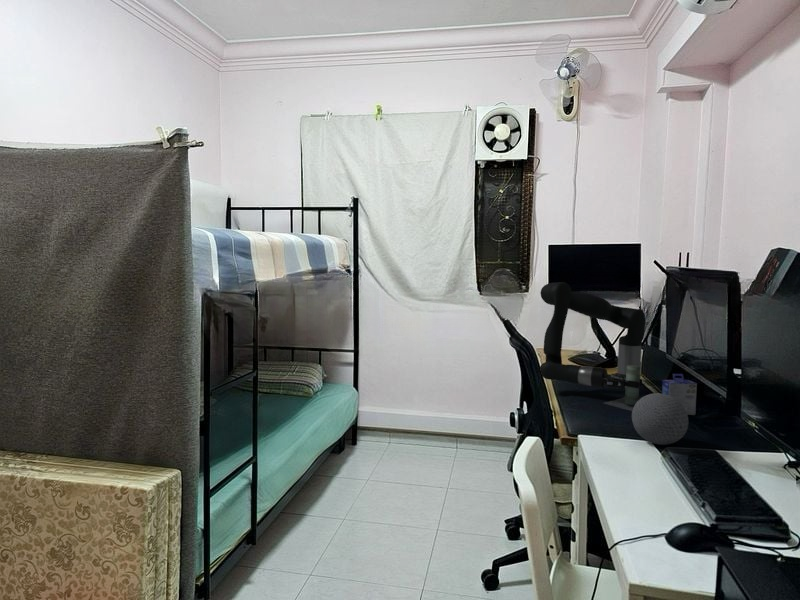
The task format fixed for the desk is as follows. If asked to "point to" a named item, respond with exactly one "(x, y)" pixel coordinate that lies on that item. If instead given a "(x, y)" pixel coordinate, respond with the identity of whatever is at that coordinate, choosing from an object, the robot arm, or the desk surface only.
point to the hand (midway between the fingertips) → (640, 383)
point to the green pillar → (631, 392)
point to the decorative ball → (660, 419)
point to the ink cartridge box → (681, 392)
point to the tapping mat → (620, 404)
